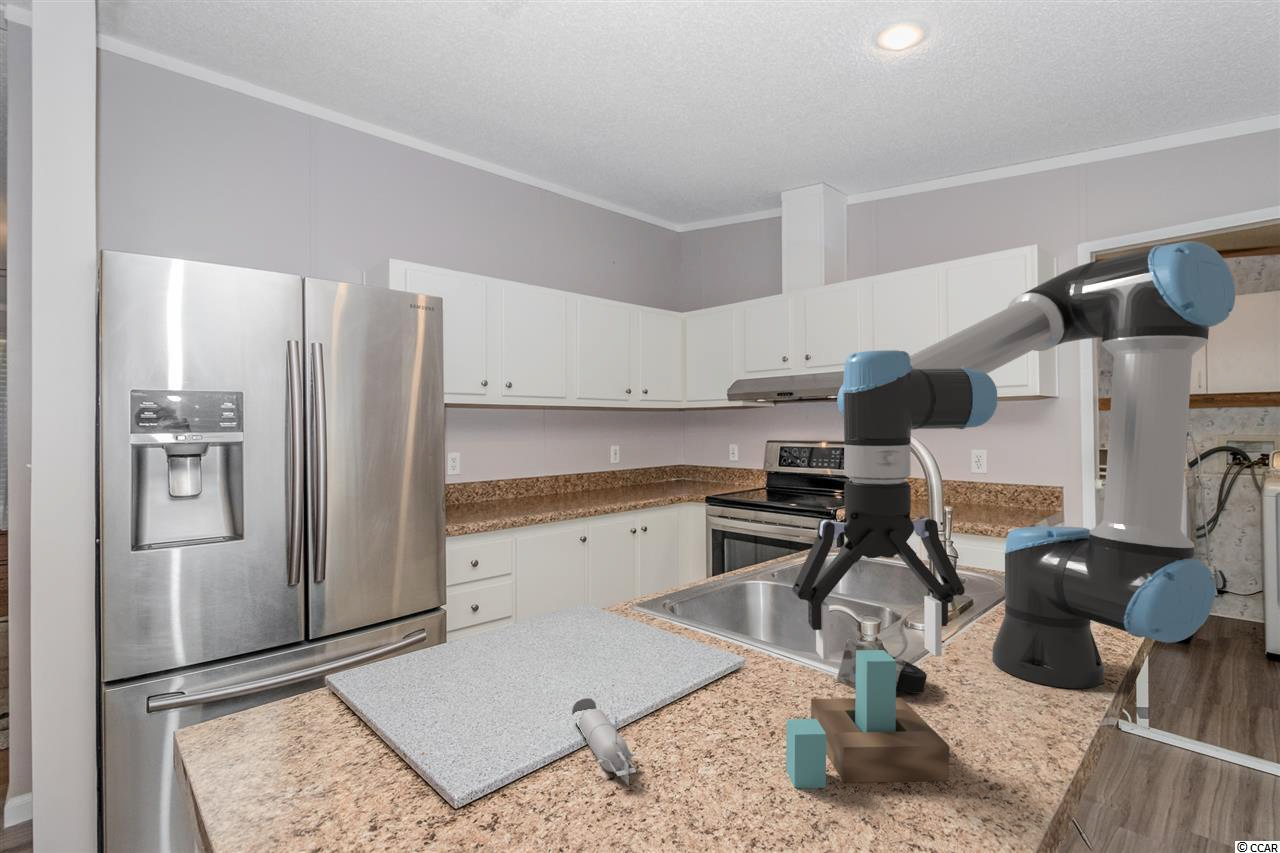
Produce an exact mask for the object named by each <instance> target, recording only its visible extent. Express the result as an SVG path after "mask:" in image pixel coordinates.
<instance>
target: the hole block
mask: <svg viewBox="0 0 1280 853" xmlns="http://www.w3.org/2000/svg"><path fill="white" fill-rule="evenodd" d="M855 701H856V697H853V698H851V697H850V698H811V699H810V719H817V721H818V722H819V724H820V725H821V727H822V728H823V730H824V731H825V733H826V757H827V758H828V760H829V761H830V763H831V765H832V766H833V768H834V770H835V772H836V773H837V774H838V776H839V778H840V779H841V781H842V782H843V783H845V784H848V783H849V784H852V783H894V782H895V783H896V782H900V783H901V782H946V781H949V778H950V777H949V774H950V773H949V772H950V771H949V770H950V766H949V764H950V745H949V744H948V743H947V742H946V741H945V740H944V739H943V738H942V737H941V735H939V734H938V733H937V732H936V731H935V730H934V729H933V727H931V726H930V725H929V724H928V723H927V721H925V719H923V718H922V717H921V716H920V715H919V714H918V712H916V711H915V710H914V708H912V707H911V706H910V705H909V704H908V703H907V702H906V700H905V699H903V697H896V728H895V732H861V731H860V730H859V729H858V727H857V726H856V725H855Z"/></svg>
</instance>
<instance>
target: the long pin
mask: <svg viewBox="0 0 1280 853" xmlns="http://www.w3.org/2000/svg"><path fill="white" fill-rule="evenodd" d="M890 655H891V654H890V653H889V652H888V653H886V652H885V651H884V650H856V689H855V698H856V701H855V725H856V726H857V727H858V729H859V730H860V731H861V732H895V728H896V698H897V689H896V660H894V659H893V658H892V657H891V656H890Z"/></svg>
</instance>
